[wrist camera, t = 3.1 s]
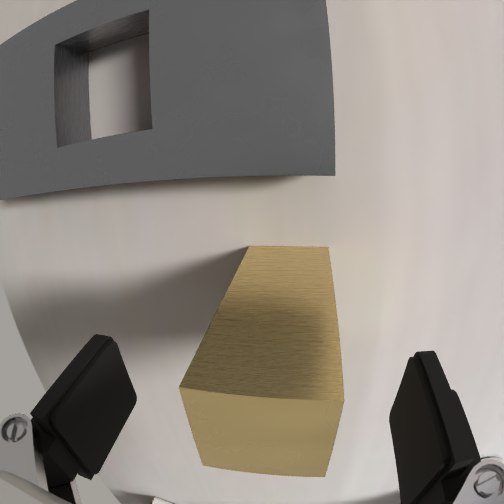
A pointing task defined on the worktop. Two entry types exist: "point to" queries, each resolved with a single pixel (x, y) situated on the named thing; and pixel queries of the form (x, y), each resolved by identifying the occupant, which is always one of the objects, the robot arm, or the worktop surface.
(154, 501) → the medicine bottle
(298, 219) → the worktop surface
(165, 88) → the grey socket block
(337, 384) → the brass peg
